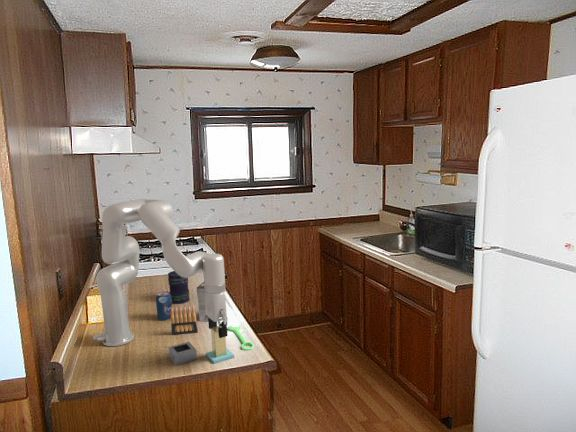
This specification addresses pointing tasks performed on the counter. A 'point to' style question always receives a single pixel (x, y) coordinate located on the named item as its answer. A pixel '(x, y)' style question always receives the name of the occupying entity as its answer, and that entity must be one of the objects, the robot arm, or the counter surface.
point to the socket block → (182, 353)
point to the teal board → (219, 359)
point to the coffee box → (201, 302)
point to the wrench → (241, 337)
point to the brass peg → (218, 343)
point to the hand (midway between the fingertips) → (218, 332)
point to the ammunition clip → (183, 321)
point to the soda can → (163, 305)
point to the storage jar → (178, 288)
